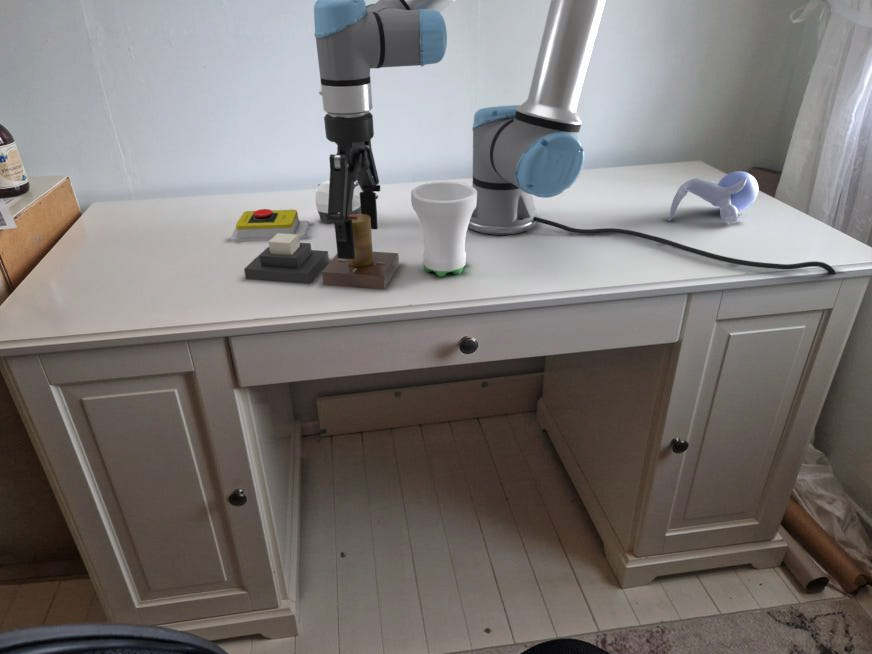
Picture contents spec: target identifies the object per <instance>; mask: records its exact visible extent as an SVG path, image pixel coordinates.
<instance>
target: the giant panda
mask: <svg viewBox="0 0 872 654" xmlns="http://www.w3.org/2000/svg"><path fill="white" fill-rule="evenodd" d="M355 182H356V183H354V188H353V195H352V202H351V209H350V215H352V214H361V204H360V192H364V191H362V190H361V188H360V185H359V183H358V181H355ZM329 184H330V179H326V180H324V181H323V182H321V183H318V185H317V186H316V191H315V206H316V210H317V214H318V215H319V219H320V222H321V223H324V224H331V223H333V221H328V219H327V215H328V202H329ZM378 198H379V195H378V194H376V200H378ZM338 213H339V212H338ZM339 214H340V213H339Z"/></svg>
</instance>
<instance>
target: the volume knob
mask: <svg viewBox="0 0 872 654" xmlns="http://www.w3.org/2000/svg"><path fill="white" fill-rule="evenodd" d="M349 219H352V228H353V239H354V250H355V258H354V259H348V263H349V264H350V265H351V266H355V267H364V266H368V265H371V264H372V263H373V261H374V260H373V252H374V248H373V247H374V246H373V236H372V235H373V234H372V229H371V221H370V216H369V215H366V214H352V215H350V216H349Z"/></svg>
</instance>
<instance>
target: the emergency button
mask: <svg viewBox="0 0 872 654" xmlns="http://www.w3.org/2000/svg"><path fill="white" fill-rule="evenodd" d="M299 218H300V217H299V213H298V211H297V209H275V210H274V209H273V210H272V209H269V208H264V209H263V208H261V209H257V210H246V211H243V213H242V214H241V216H240V217H239V219H238V220H237V222H236V224H235V228H234V230H233V232H232V233H231V235H230V236H229V238H230V241H231V242H234V243H235V242H237V243H239V242H240V243H241V242H266V241H268V242H269V241H270V240H271V239H272V238H273V237H274V236H275V235H276V234H278V233H280V234H297V235H299V241H301V240H304V239H305V238H306V236H307V233H308V231H309V228H310V224H311V223H310V221H309V220H300V219H299Z"/></svg>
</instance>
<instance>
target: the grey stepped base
mask: <svg viewBox="0 0 872 654" xmlns="http://www.w3.org/2000/svg"><path fill="white" fill-rule="evenodd" d="M329 262H330V258H329V250H316V249H312V244H311V242H300V248H299V249H298V250H297V251H296V252H295V253H294V254H293V255H282V254H271V253H270V247H269V246H268V247H266V248H265V249H264V250H263V251H262V252H261V253H260V254H259V255H257V256H256V257H255V258H254V259H252V261H251V262H250V263H249V264H247V265H246V266H245V267H244V268H243V269H244V276H245V280H252V281H254V280H255V281H268V282H280V283H281V282H282V283H295V284H308V285H310V284H311V283H312V282H313V281H314V279H315V278H316V277H317V276H318V275H319V273H320V272H322V271H323V270H324V268H325V267H326V266H327V265H328V264H329Z"/></svg>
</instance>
